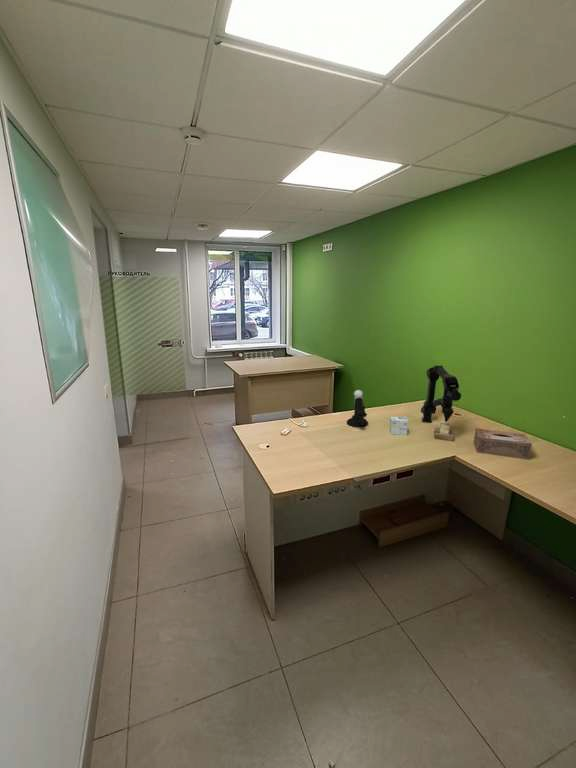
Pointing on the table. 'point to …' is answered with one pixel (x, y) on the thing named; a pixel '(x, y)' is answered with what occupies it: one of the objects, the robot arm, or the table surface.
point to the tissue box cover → (502, 443)
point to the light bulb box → (398, 425)
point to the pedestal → (443, 435)
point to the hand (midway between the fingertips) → (445, 419)
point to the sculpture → (358, 412)
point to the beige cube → (444, 428)
